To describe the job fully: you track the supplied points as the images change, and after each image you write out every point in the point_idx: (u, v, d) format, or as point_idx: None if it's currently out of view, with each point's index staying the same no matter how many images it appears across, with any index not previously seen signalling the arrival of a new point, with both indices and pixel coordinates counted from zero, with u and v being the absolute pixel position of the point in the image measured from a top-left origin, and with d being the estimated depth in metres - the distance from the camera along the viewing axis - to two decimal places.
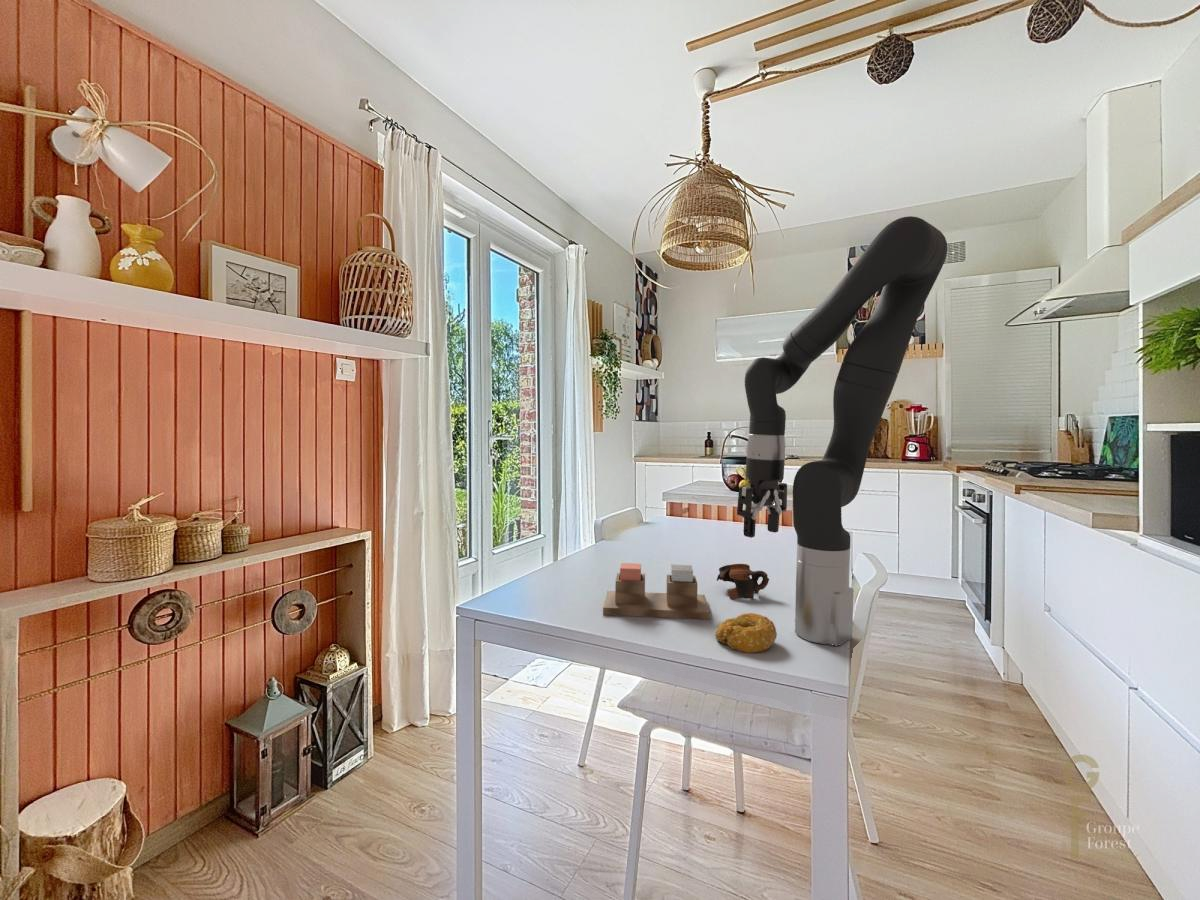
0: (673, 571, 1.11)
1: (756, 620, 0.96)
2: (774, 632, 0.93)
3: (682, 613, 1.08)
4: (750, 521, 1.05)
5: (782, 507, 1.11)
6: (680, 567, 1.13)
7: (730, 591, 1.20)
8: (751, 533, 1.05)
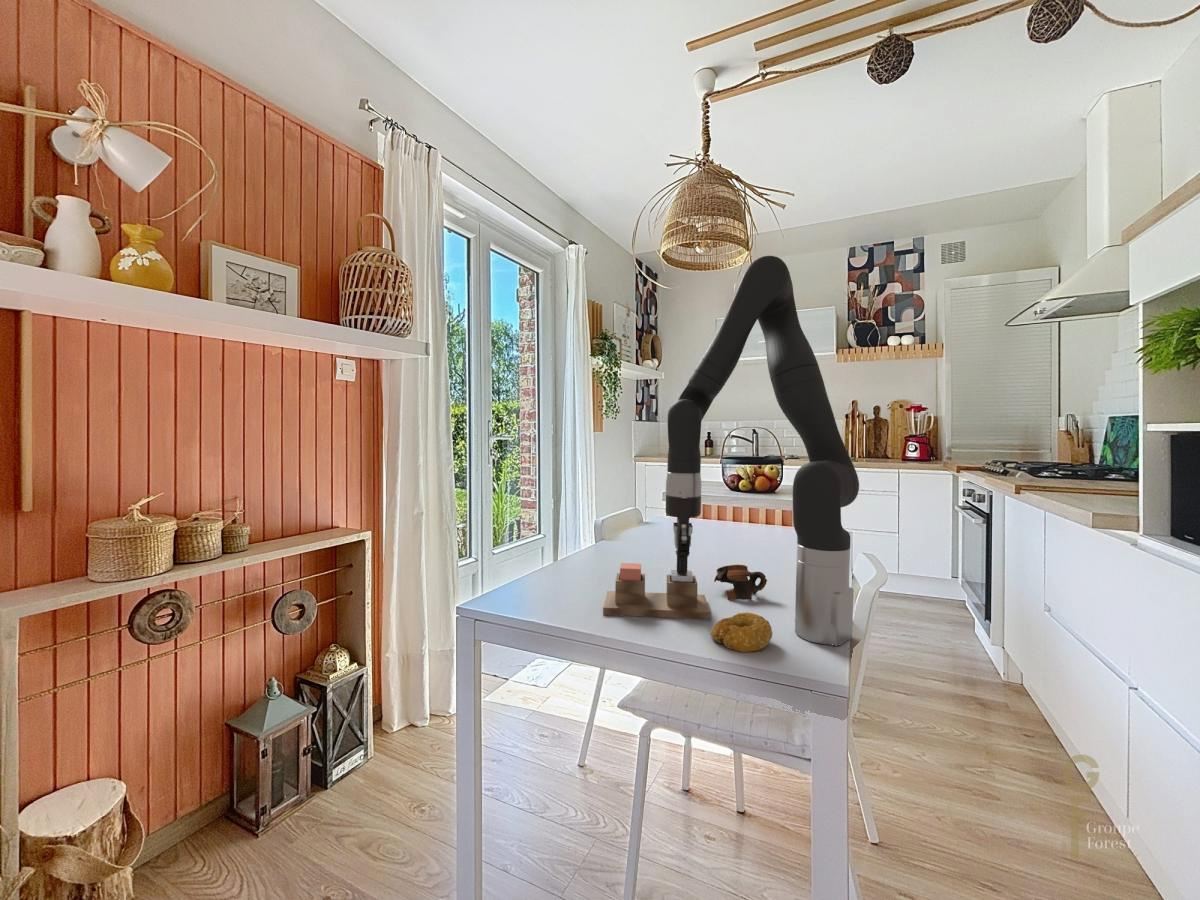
0: (673, 576, 1.11)
1: (752, 619, 0.96)
2: (770, 631, 0.93)
3: (682, 613, 1.08)
4: None
5: None
6: None
7: (728, 593, 1.19)
8: None
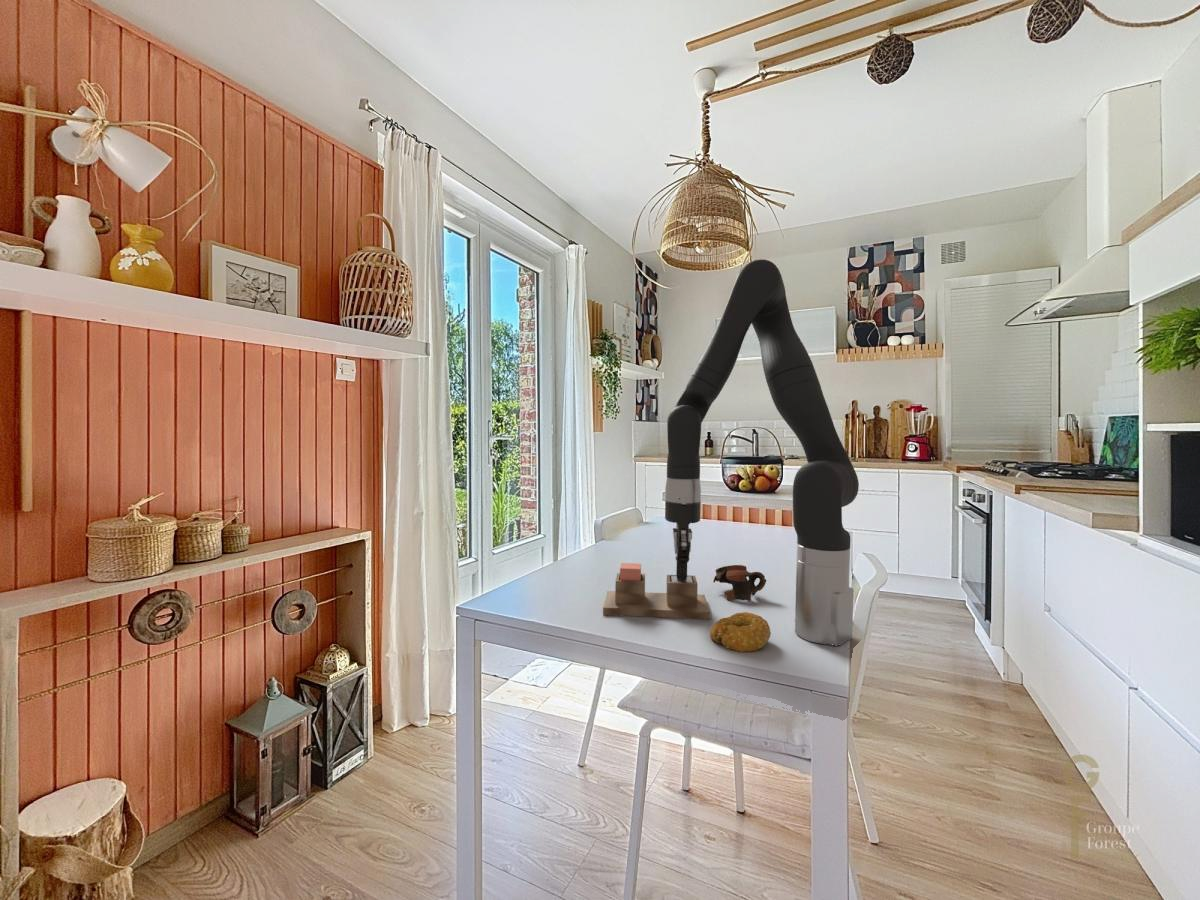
0: None
1: (750, 619, 0.96)
2: (768, 631, 0.93)
3: (682, 613, 1.08)
4: None
5: None
6: None
7: (727, 593, 1.19)
8: None
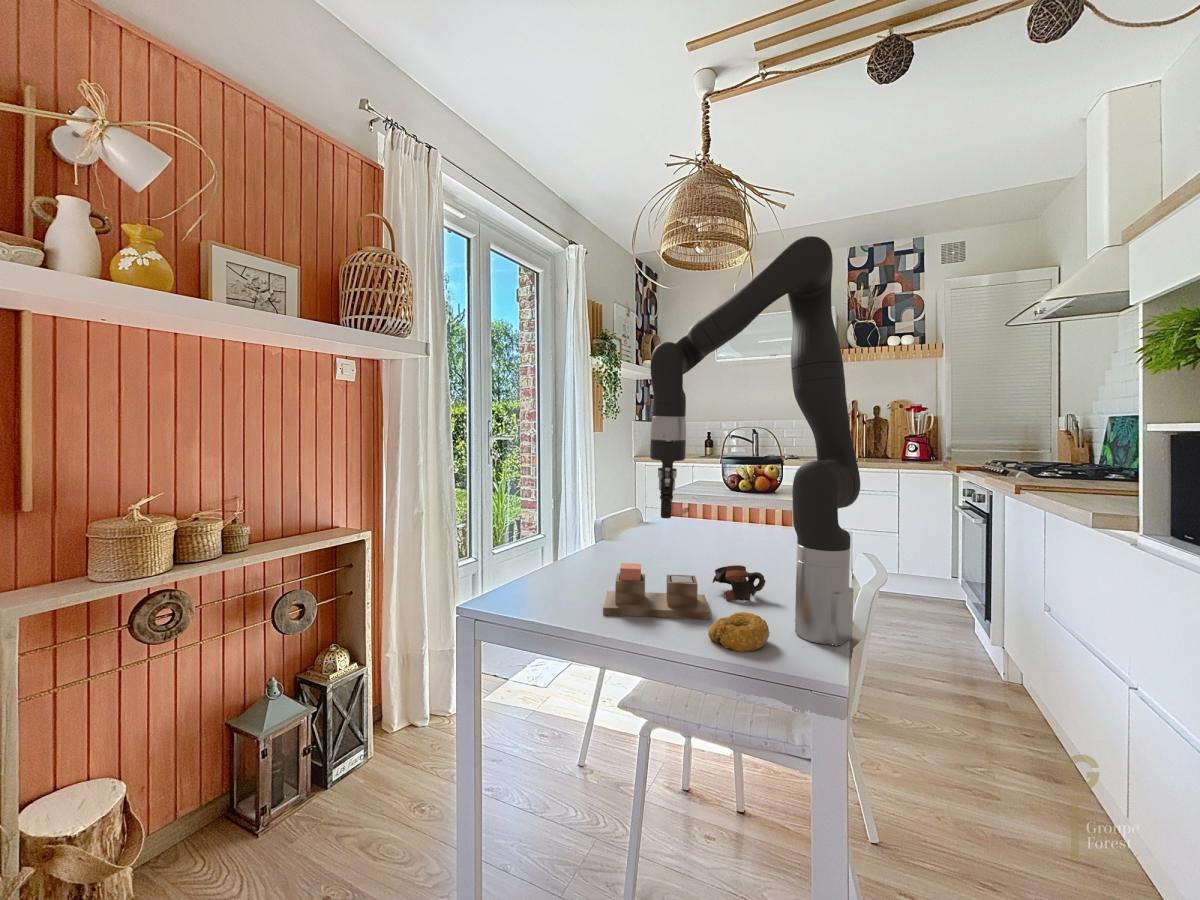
0: None
1: (749, 619, 0.96)
2: (767, 631, 0.93)
3: (682, 613, 1.08)
4: None
5: None
6: (679, 578, 1.13)
7: (727, 593, 1.18)
8: None
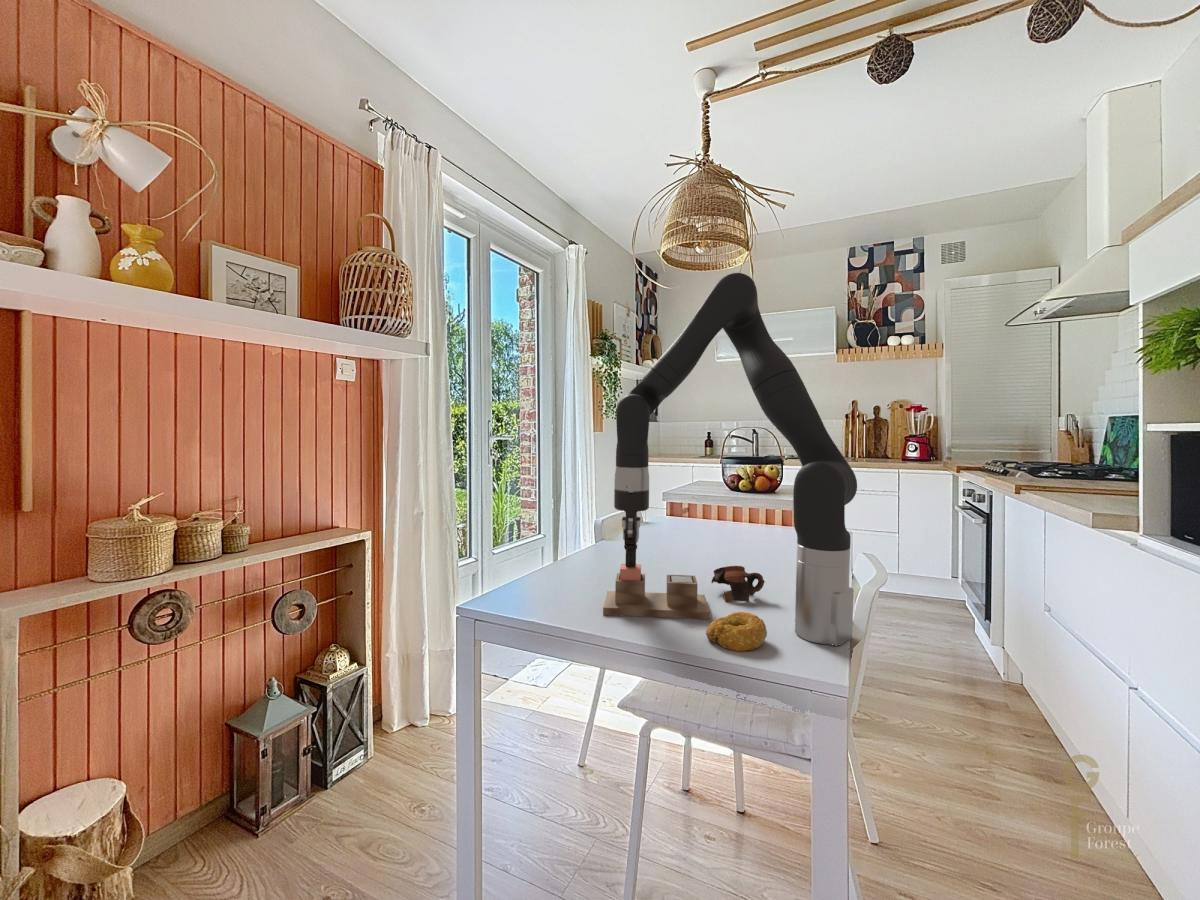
0: None
1: (746, 619, 0.97)
2: (764, 631, 0.94)
3: (682, 613, 1.08)
4: None
5: None
6: (679, 578, 1.13)
7: (726, 594, 1.18)
8: None
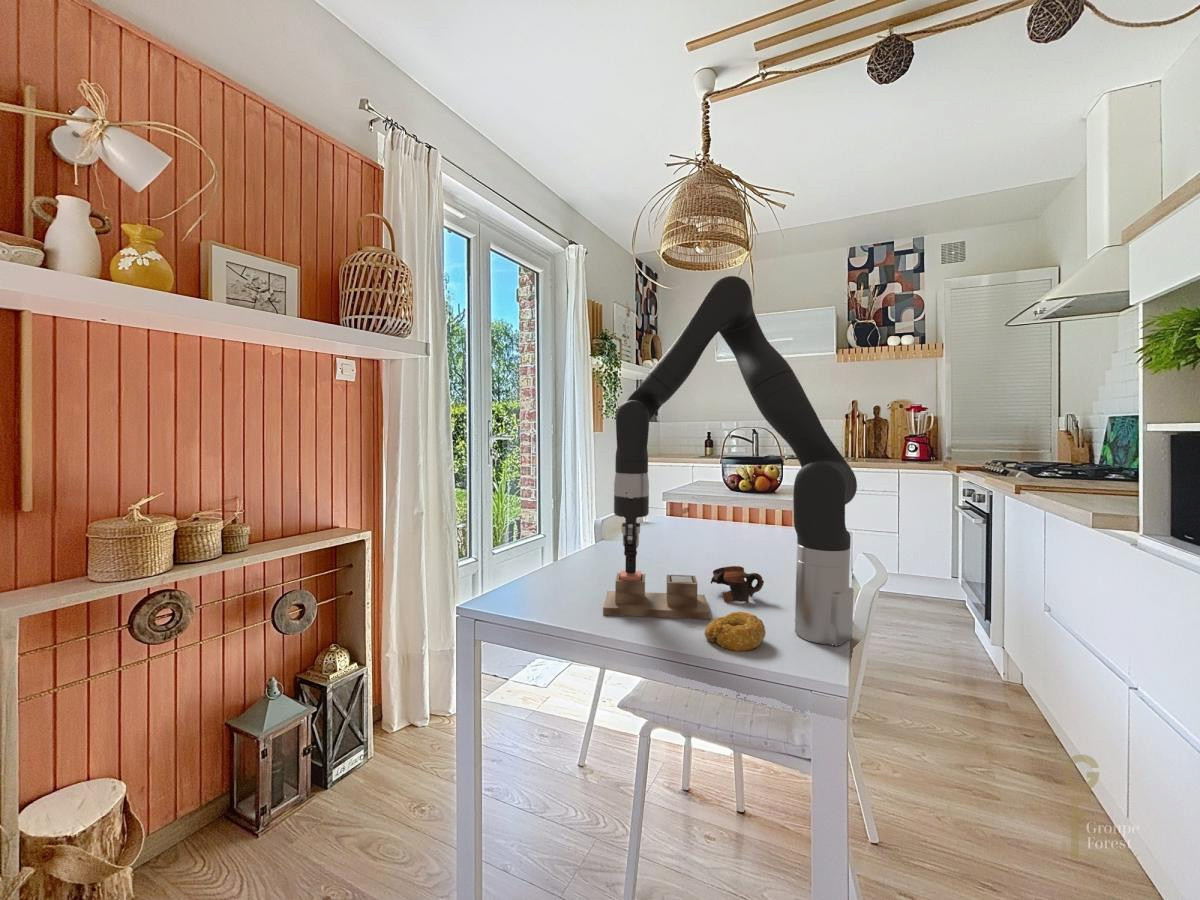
0: None
1: (745, 619, 0.97)
2: (763, 630, 0.94)
3: (682, 613, 1.08)
4: None
5: None
6: (679, 578, 1.13)
7: (725, 594, 1.18)
8: None
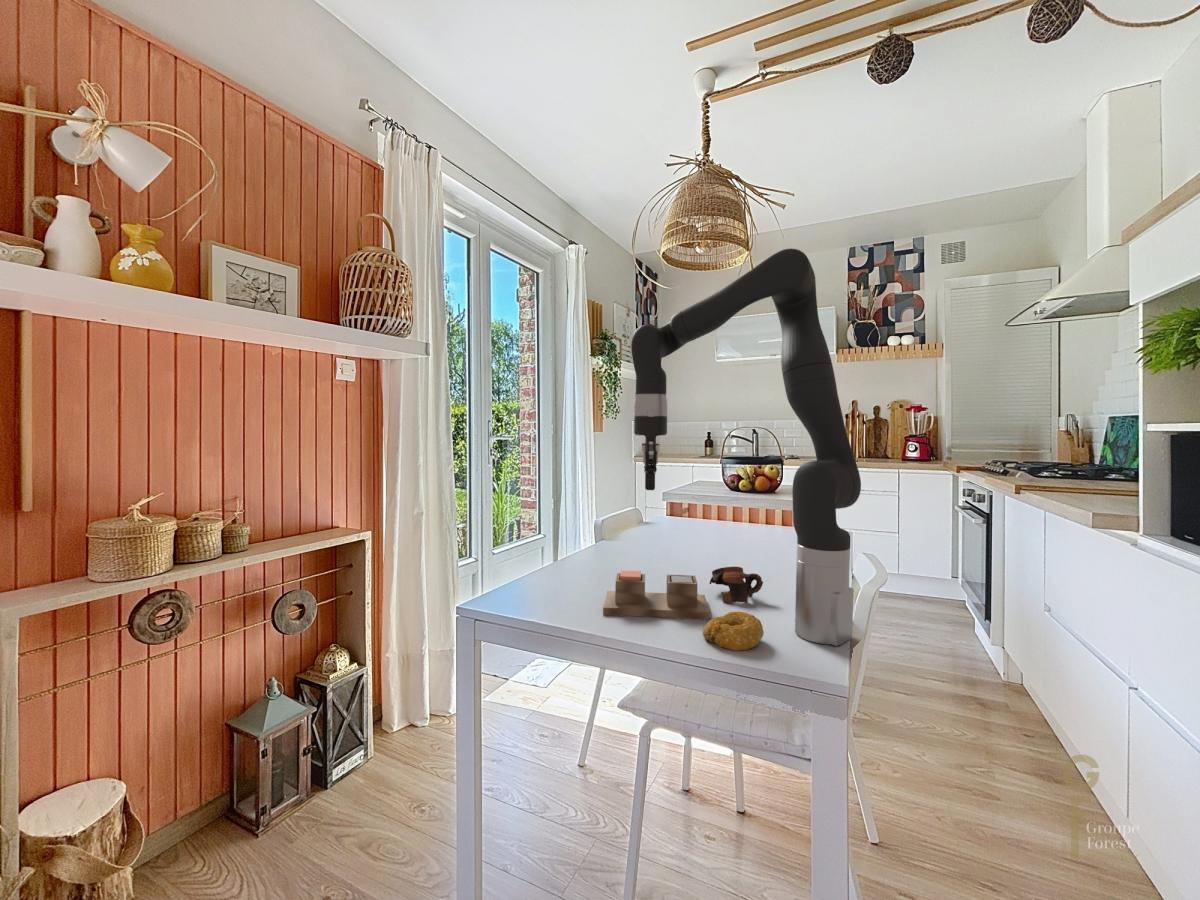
0: None
1: (743, 618, 0.97)
2: (761, 630, 0.94)
3: (682, 613, 1.08)
4: None
5: None
6: (679, 578, 1.13)
7: (724, 595, 1.17)
8: None
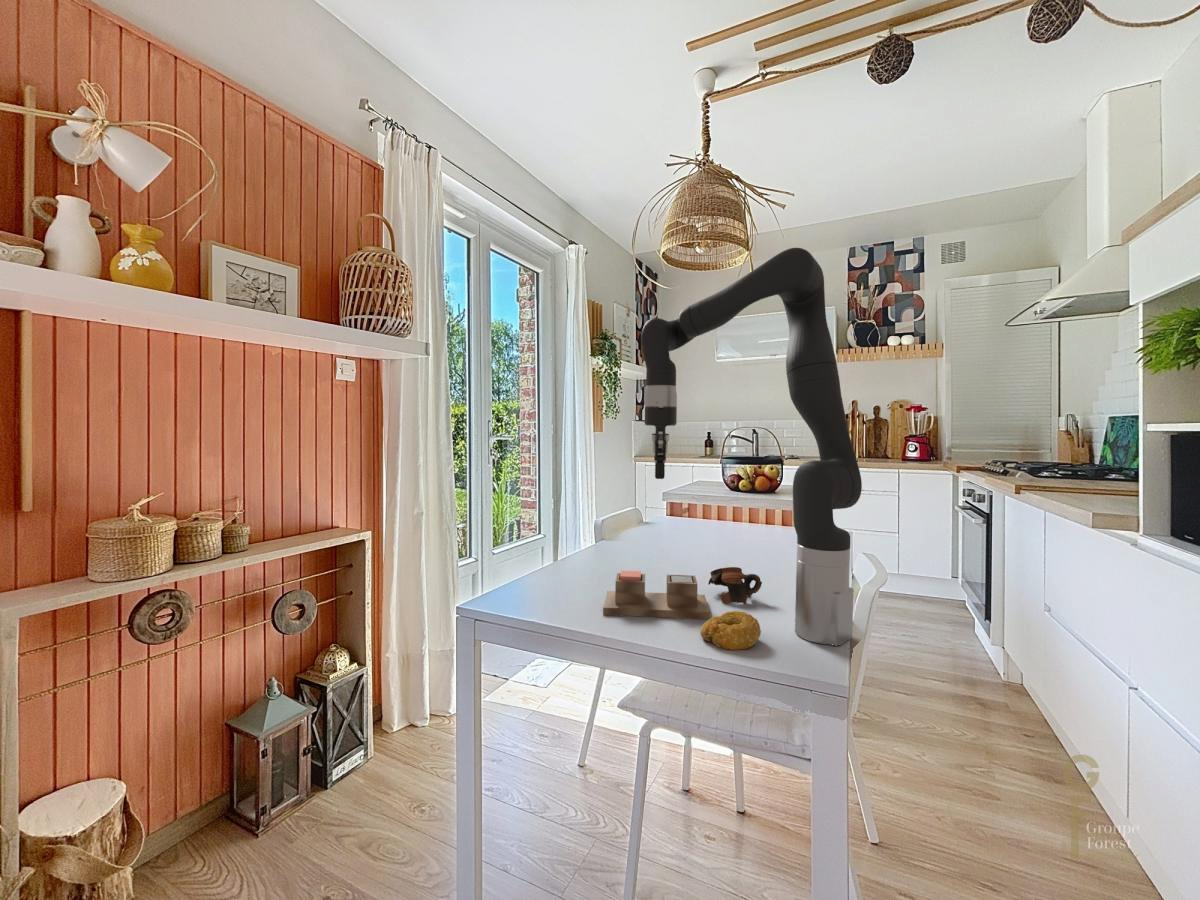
0: None
1: (740, 618, 0.97)
2: (758, 629, 0.94)
3: (682, 613, 1.08)
4: None
5: None
6: (679, 578, 1.13)
7: (723, 596, 1.17)
8: None
